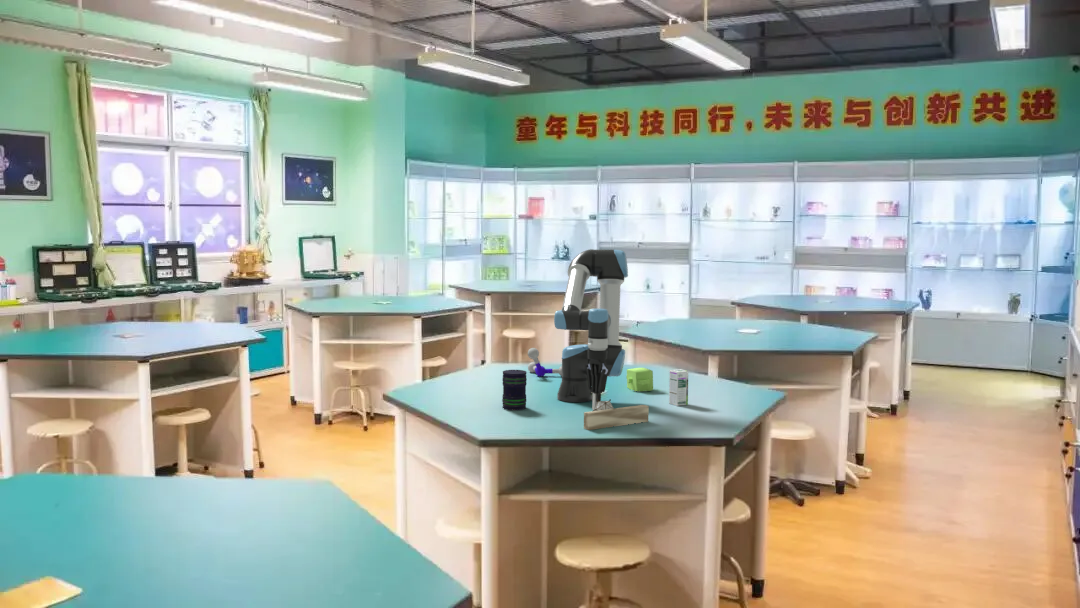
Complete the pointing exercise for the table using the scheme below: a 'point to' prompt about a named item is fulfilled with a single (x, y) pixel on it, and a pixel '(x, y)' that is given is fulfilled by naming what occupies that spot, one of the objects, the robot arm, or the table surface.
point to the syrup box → (678, 387)
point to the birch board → (615, 417)
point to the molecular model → (536, 367)
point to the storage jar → (514, 389)
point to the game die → (603, 405)
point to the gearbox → (640, 379)
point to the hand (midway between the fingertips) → (596, 409)
